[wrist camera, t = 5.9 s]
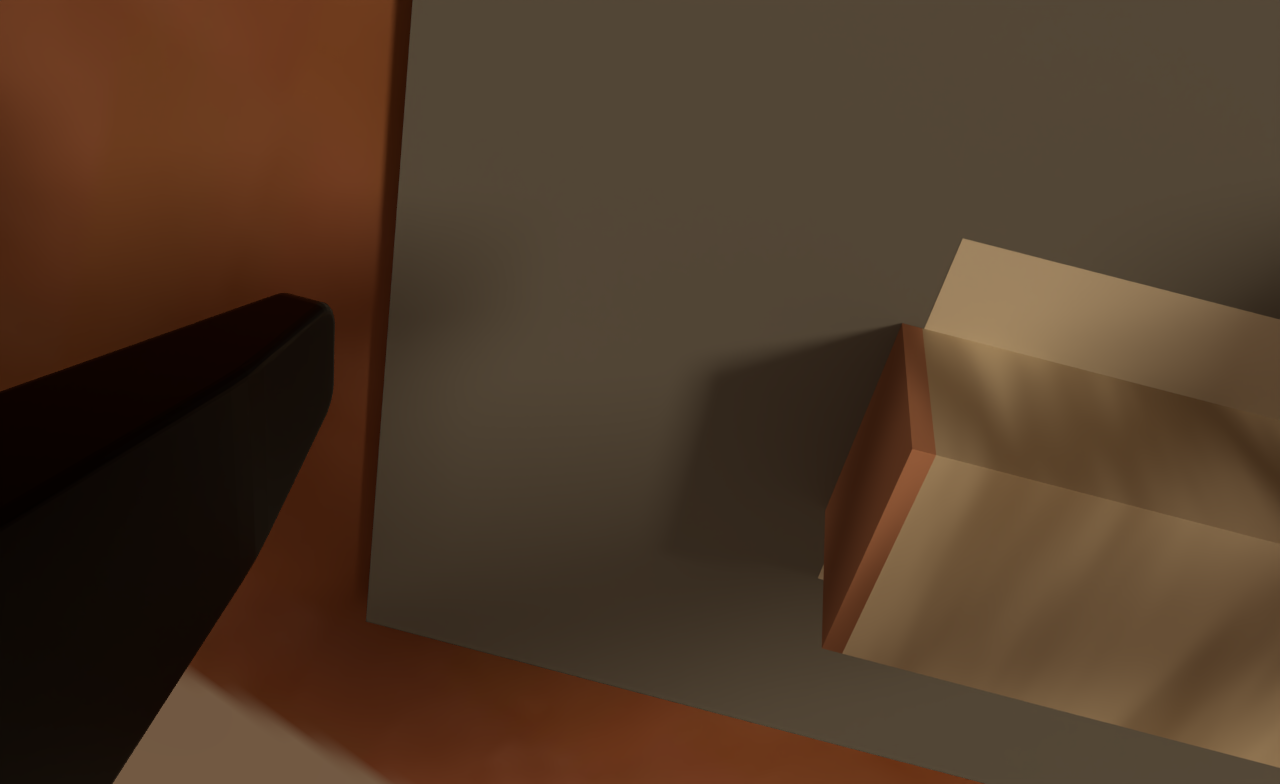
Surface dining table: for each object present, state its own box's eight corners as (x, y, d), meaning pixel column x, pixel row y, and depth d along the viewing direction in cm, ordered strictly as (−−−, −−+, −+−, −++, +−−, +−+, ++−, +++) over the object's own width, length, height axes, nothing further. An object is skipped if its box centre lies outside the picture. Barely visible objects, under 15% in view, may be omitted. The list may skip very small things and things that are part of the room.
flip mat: (2065, 163, 17) (2096, 177, 16) (1329, 857, 28) (1337, 875, 28) (440, -248, 17) (431, -244, 17) (372, 607, 29) (366, 621, 28)
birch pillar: (902, 323, 21) (1510, 479, 21) (825, 510, 24) (1357, 649, 24) (912, 448, 18) (1633, 635, 18) (821, 648, 21) (1438, 808, 20)
